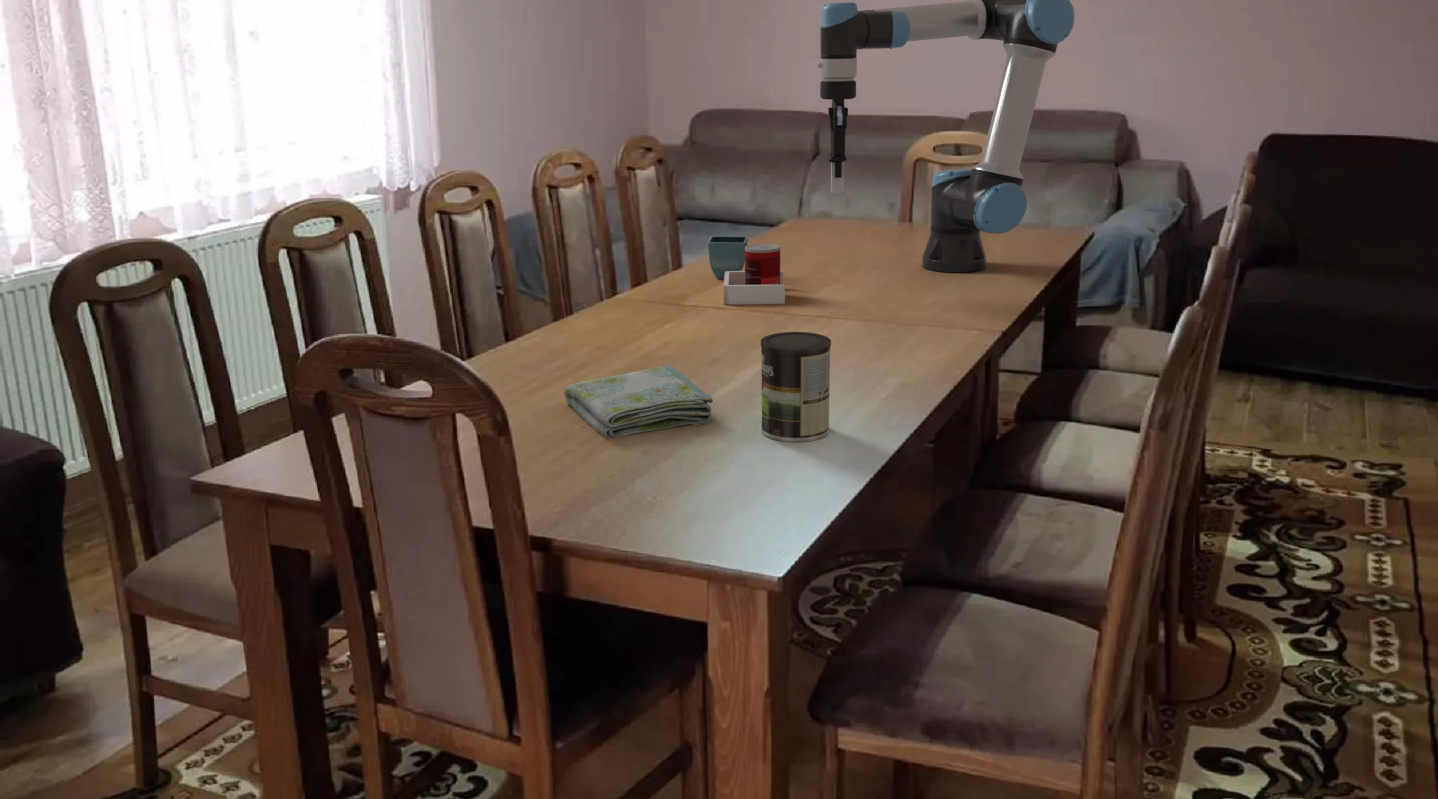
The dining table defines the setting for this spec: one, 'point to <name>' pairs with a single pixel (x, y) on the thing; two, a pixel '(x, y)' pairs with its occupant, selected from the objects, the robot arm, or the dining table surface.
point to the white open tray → (751, 290)
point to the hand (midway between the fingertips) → (837, 192)
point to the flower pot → (726, 254)
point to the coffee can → (795, 386)
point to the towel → (639, 402)
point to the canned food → (762, 264)
